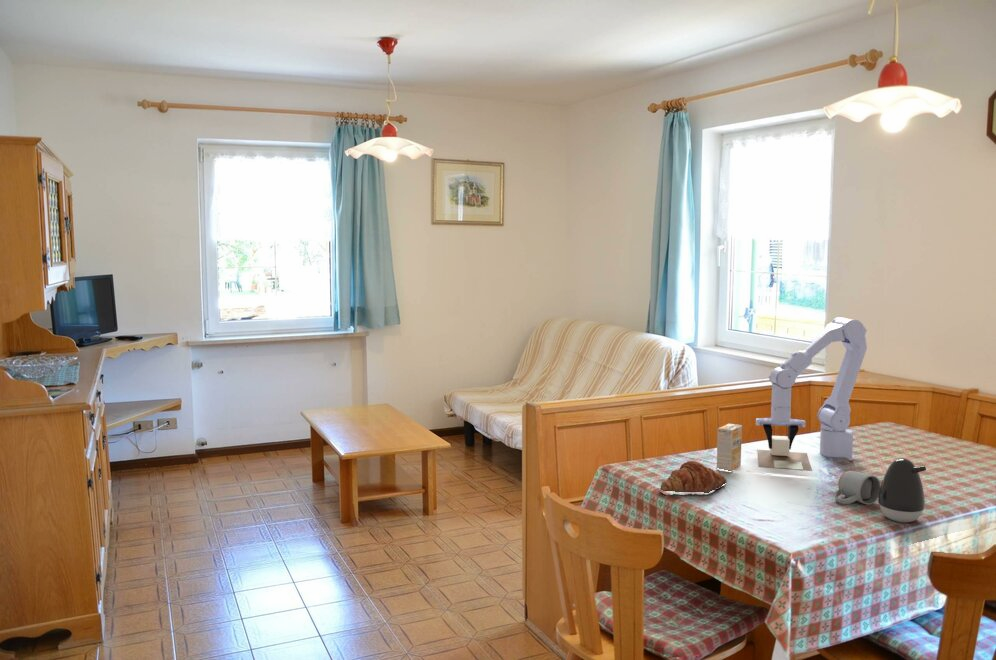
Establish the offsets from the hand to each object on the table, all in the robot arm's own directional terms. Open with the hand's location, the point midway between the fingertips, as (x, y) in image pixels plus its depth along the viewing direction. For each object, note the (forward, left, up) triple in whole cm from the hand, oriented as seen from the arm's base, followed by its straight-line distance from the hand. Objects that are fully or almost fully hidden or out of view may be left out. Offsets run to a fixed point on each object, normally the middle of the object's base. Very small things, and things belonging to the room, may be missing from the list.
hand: (779, 448), depth 245 cm
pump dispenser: (-26, +49, -3) cm, 56 cm away
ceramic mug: (-17, +38, -3) cm, 42 cm away
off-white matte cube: (0, 0, -2) cm, 2 cm away
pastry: (+24, +40, -3) cm, 47 cm away
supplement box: (+15, +17, -3) cm, 23 cm away
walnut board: (-1, +5, -3) cm, 6 cm away
